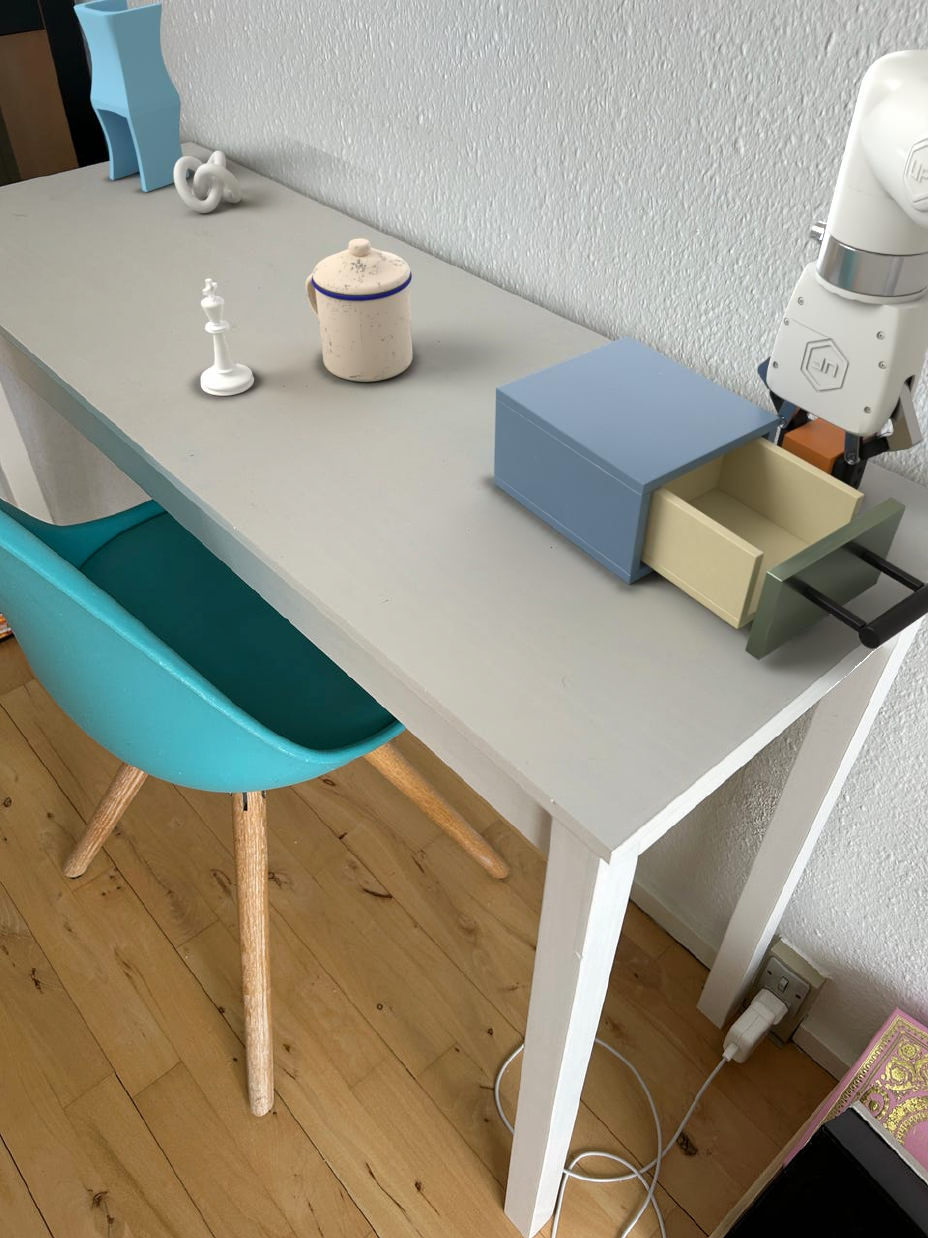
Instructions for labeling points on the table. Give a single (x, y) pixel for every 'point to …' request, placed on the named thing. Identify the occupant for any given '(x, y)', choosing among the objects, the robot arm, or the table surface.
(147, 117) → the vase
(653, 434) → the drawer cabinet
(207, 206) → the knot
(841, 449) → the matte orange cube
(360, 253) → the teacup with lid
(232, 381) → the chess piece
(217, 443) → the table surface
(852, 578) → the drawer
